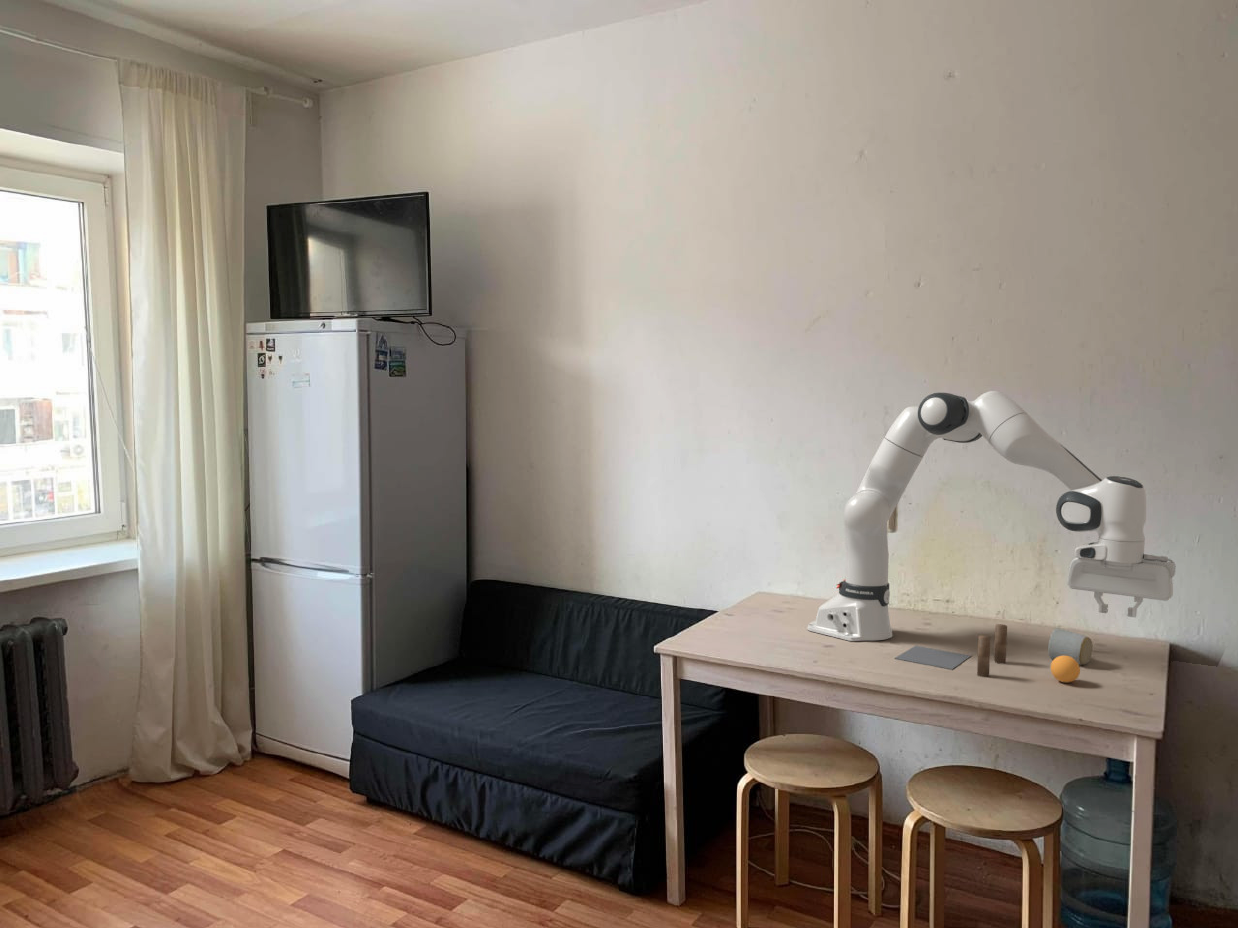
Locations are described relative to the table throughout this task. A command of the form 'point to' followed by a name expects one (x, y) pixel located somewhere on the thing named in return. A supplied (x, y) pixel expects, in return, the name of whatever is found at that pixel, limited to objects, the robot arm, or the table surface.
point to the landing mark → (933, 657)
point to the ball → (1065, 669)
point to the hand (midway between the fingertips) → (1117, 614)
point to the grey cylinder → (1070, 646)
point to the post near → (983, 656)
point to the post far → (1000, 643)
